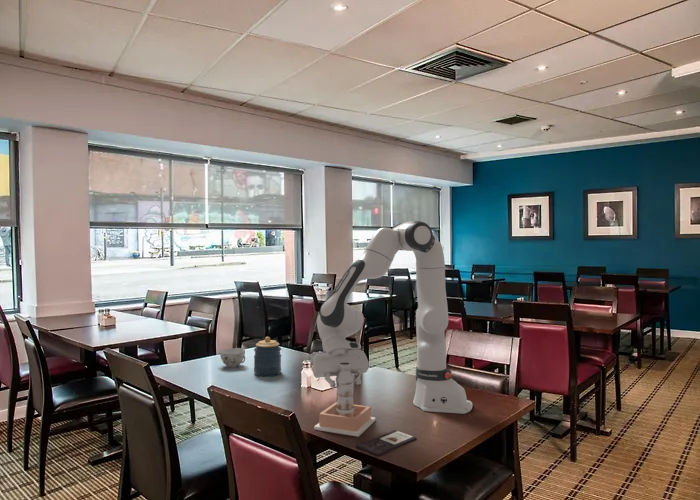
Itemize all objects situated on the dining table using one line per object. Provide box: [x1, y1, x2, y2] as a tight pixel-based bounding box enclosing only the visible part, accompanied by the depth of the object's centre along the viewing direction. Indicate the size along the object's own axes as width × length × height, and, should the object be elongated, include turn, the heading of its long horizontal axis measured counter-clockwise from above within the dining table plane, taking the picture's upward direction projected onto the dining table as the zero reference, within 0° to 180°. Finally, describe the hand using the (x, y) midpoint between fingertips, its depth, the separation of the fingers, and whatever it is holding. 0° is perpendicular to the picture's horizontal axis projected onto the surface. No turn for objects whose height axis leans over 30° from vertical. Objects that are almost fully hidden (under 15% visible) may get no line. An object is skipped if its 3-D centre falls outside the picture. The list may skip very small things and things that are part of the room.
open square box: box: [313, 401, 377, 438], centre depth 168 cm, size 16×16×5 cm
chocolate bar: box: [356, 429, 417, 457], centre depth 152 cm, size 9×1×18 cm
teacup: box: [219, 347, 246, 368], centre depth 248 cm, size 15×12×8 cm
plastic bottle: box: [335, 362, 356, 417], centre depth 168 cm, size 6×7×20 cm
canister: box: [253, 336, 282, 378], centre depth 235 cm, size 13×13×18 cm
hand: (346, 384), depth 167 cm, fingers open, 8 cm apart
